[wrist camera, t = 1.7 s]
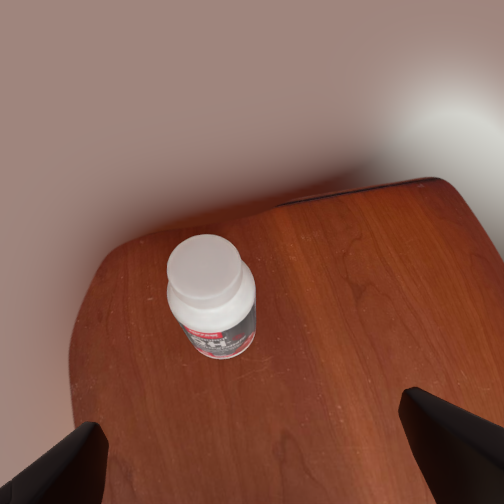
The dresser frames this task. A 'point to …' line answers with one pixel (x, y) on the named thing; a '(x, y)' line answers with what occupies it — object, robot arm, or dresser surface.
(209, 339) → the pill bottle
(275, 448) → the dresser surface
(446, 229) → the dresser surface
